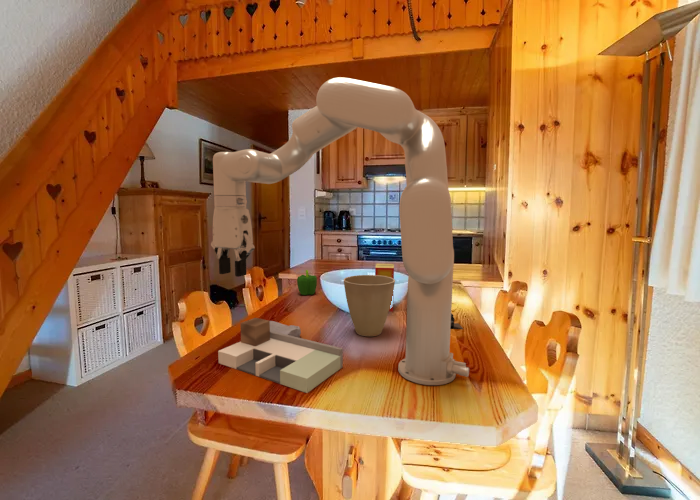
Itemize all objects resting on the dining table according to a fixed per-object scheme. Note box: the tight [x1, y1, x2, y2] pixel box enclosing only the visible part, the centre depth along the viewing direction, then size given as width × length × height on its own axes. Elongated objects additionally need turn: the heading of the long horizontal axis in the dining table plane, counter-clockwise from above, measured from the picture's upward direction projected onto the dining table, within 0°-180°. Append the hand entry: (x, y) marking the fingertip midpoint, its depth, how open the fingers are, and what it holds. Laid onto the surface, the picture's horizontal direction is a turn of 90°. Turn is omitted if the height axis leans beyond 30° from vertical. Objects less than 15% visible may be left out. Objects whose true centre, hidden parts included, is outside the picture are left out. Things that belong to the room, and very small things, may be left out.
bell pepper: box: [296, 269, 318, 296], centre depth 149 cm, size 8×8×10 cm
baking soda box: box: [374, 263, 395, 313], centre depth 129 cm, size 10×6×16 cm
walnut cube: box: [240, 317, 271, 346], centre depth 89 cm, size 5×5×5 cm
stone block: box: [269, 320, 302, 338], centre depth 100 cm, size 12×5×10 cm
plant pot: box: [343, 274, 396, 337], centre depth 104 cm, size 15×15×16 cm
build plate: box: [450, 312, 464, 330], centre depth 111 cm, size 12×7×5 cm, turn 89°
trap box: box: [217, 331, 344, 394], centre depth 82 cm, size 26×14×4 cm, turn 60°
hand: (232, 273), depth 91 cm, fingers open, 5 cm apart
